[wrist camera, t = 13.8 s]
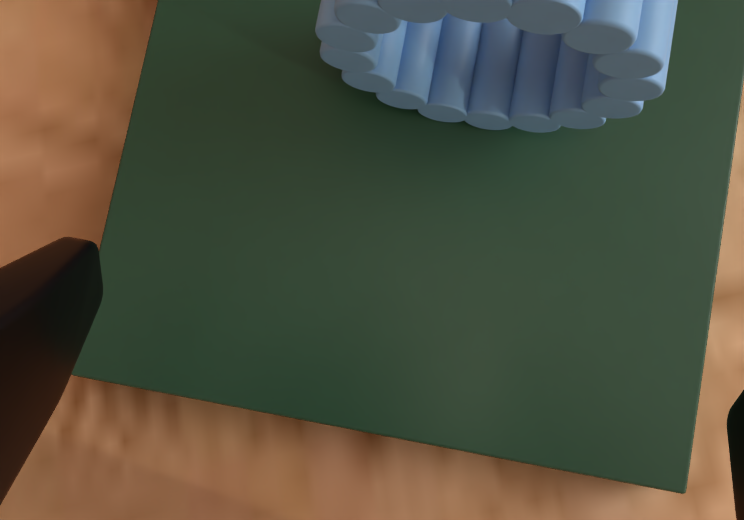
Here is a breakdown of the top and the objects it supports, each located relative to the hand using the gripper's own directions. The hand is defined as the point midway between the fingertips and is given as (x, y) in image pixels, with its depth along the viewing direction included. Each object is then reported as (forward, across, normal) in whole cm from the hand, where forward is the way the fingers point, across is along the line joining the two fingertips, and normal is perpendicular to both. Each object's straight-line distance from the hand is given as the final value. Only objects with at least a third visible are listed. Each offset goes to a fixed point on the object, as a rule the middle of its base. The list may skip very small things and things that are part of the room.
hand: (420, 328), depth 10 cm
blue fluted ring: (+10, 0, +1) cm, 10 cm away
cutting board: (+10, 0, +3) cm, 10 cm away
